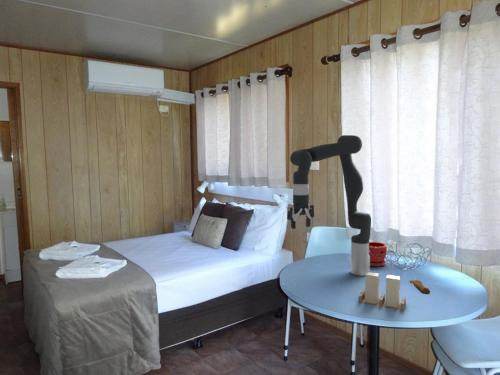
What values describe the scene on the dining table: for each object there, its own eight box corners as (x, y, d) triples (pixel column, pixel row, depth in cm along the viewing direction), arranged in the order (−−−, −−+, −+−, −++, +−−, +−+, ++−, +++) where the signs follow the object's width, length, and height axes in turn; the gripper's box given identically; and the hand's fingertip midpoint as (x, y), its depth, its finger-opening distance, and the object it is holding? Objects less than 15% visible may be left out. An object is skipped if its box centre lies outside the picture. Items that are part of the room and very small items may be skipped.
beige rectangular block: (366, 298, 156) (367, 271, 155) (378, 300, 154) (379, 273, 153) (364, 302, 153) (365, 274, 152) (377, 304, 150) (377, 276, 149)
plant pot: (369, 259, 219) (370, 240, 218) (390, 264, 210) (390, 244, 209) (358, 264, 211) (358, 244, 210) (379, 269, 201) (379, 248, 200)
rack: (362, 298, 159) (362, 289, 159) (405, 306, 151) (405, 297, 150) (358, 305, 152) (358, 295, 152) (403, 314, 144) (403, 303, 143)
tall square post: (386, 302, 152) (387, 274, 151) (399, 304, 150) (400, 276, 149) (385, 305, 149) (386, 277, 148) (398, 308, 146) (399, 279, 145)
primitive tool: (408, 281, 182) (408, 274, 182) (419, 281, 182) (419, 275, 181) (422, 296, 163) (422, 288, 163) (434, 296, 163) (435, 289, 162)
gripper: (293, 195, 160) (293, 231, 162) (317, 193, 168) (317, 227, 169) (283, 193, 167) (283, 228, 168) (307, 191, 174) (307, 224, 175)
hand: (300, 227), depth 169 cm, fingers open, 8 cm apart
